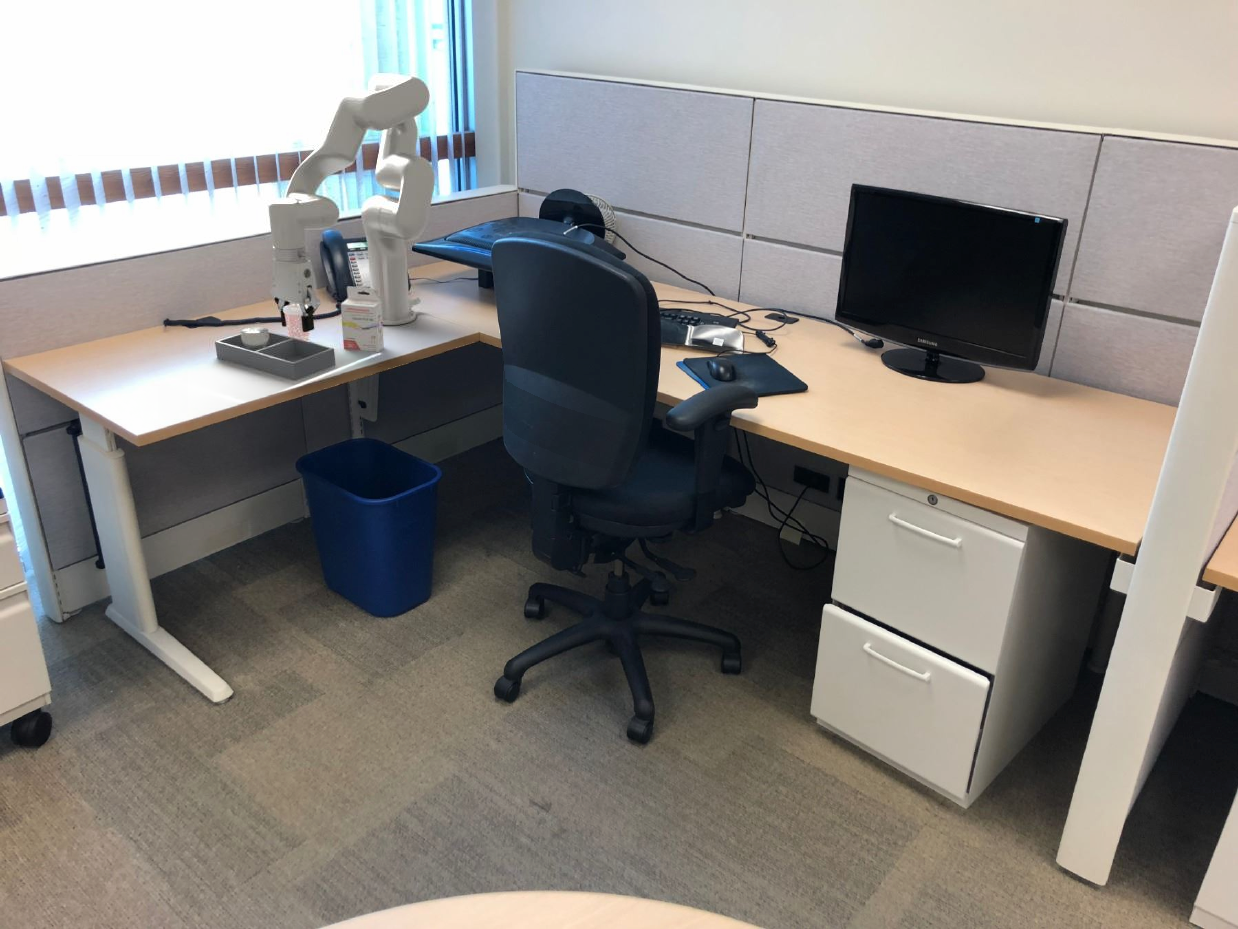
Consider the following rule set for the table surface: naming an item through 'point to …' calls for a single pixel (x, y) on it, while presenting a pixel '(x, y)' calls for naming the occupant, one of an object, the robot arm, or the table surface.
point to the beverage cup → (295, 322)
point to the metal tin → (255, 338)
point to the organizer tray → (278, 356)
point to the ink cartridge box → (362, 320)
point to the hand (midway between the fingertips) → (298, 327)
